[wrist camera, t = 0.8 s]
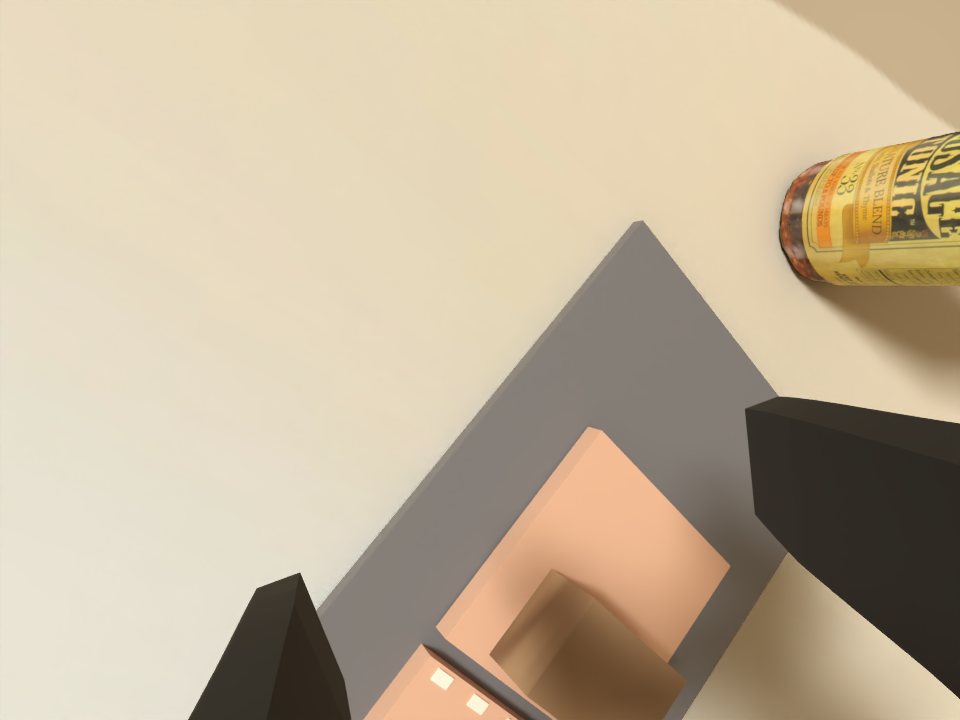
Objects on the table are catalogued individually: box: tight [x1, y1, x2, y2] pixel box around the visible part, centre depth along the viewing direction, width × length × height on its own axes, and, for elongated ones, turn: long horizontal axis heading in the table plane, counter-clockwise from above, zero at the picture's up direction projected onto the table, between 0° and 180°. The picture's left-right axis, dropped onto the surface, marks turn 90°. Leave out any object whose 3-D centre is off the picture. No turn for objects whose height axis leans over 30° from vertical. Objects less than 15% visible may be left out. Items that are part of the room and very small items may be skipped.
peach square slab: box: [436, 427, 730, 720], centre depth 26 cm, size 10×10×4 cm
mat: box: [316, 221, 788, 720], centre depth 28 cm, size 30×18×1 cm, turn 136°
